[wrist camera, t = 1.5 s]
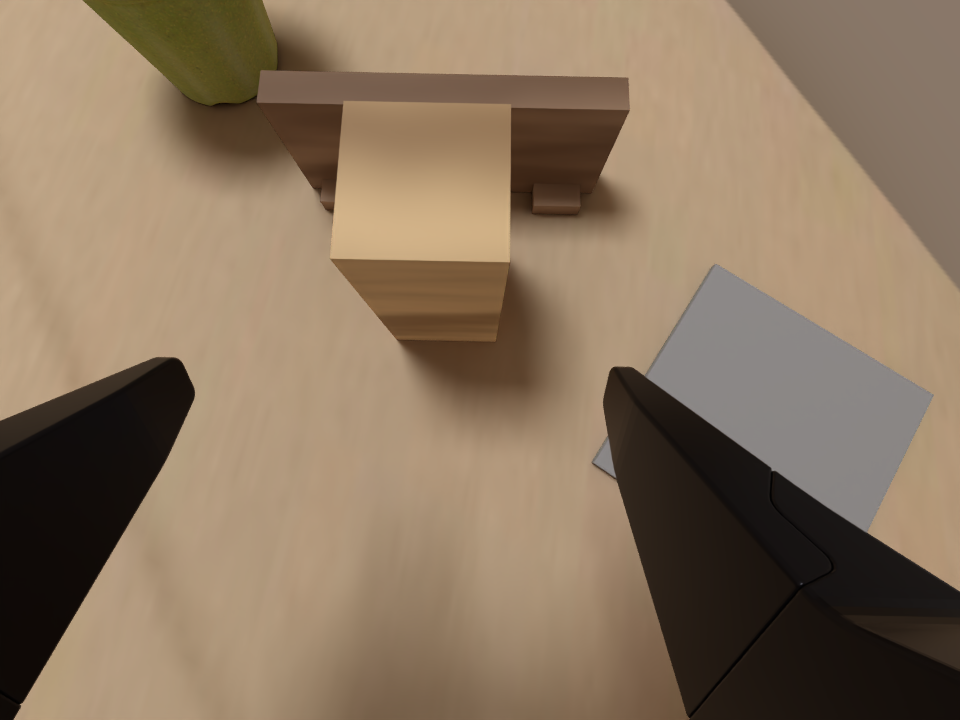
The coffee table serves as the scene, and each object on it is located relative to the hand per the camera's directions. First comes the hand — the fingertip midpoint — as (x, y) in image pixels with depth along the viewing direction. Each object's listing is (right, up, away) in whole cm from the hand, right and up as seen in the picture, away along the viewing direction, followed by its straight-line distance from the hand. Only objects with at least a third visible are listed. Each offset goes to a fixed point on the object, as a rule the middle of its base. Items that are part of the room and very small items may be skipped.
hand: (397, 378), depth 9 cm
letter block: (0, +4, +13) cm, 14 cm away
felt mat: (+15, -3, +12) cm, 20 cm away
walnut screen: (0, +10, +14) cm, 18 cm away
